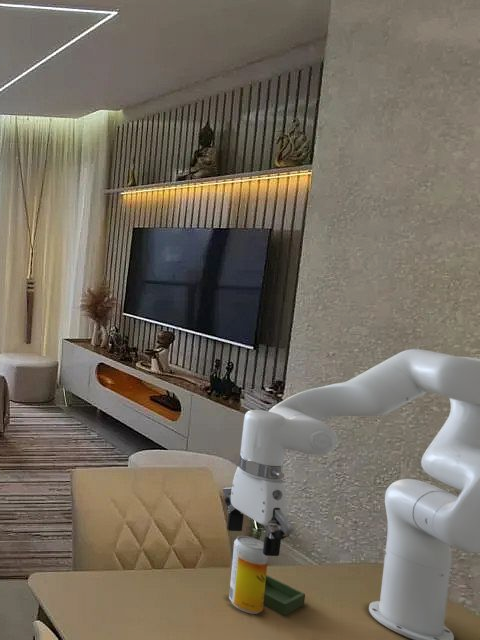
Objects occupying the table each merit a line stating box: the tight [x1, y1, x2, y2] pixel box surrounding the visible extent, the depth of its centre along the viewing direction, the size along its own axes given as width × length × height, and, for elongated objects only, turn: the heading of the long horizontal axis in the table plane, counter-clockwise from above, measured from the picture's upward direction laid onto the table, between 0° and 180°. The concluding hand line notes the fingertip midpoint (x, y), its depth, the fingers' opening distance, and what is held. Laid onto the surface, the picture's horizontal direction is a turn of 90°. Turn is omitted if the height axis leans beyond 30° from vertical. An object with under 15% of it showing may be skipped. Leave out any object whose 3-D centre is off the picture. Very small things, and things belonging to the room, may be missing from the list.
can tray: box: [263, 574, 306, 616], centre depth 123 cm, size 9×9×3 cm
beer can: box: [228, 535, 269, 615], centre depth 120 cm, size 6×6×15 cm
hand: (251, 542), depth 119 cm, fingers open, 9 cm apart
